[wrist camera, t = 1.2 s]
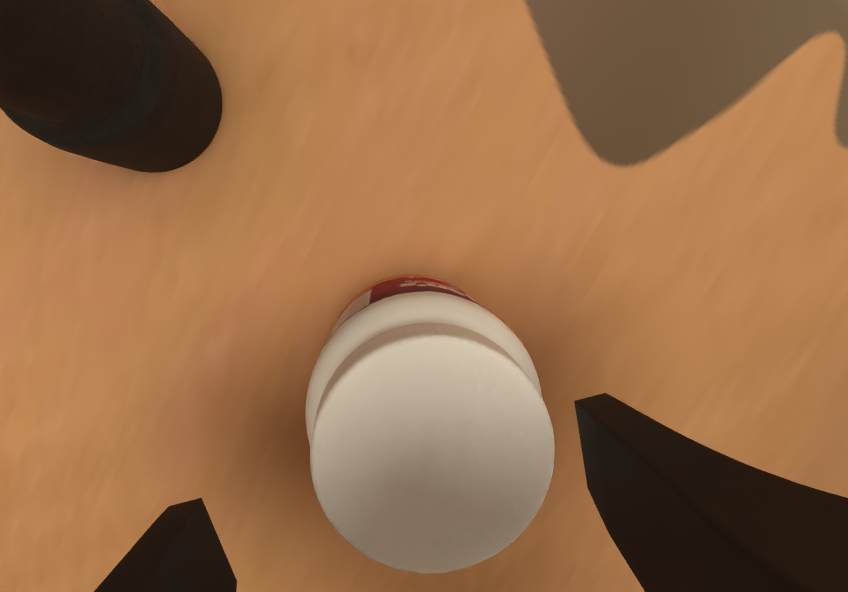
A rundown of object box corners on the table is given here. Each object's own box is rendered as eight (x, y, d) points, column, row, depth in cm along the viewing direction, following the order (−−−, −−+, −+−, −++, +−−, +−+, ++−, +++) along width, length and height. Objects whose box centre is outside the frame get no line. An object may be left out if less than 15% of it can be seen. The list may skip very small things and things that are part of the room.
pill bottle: (519, 318, 25) (637, 390, 14) (445, 461, 25) (499, 645, 14) (374, 244, 24) (370, 254, 13) (299, 391, 25) (232, 525, 13)
